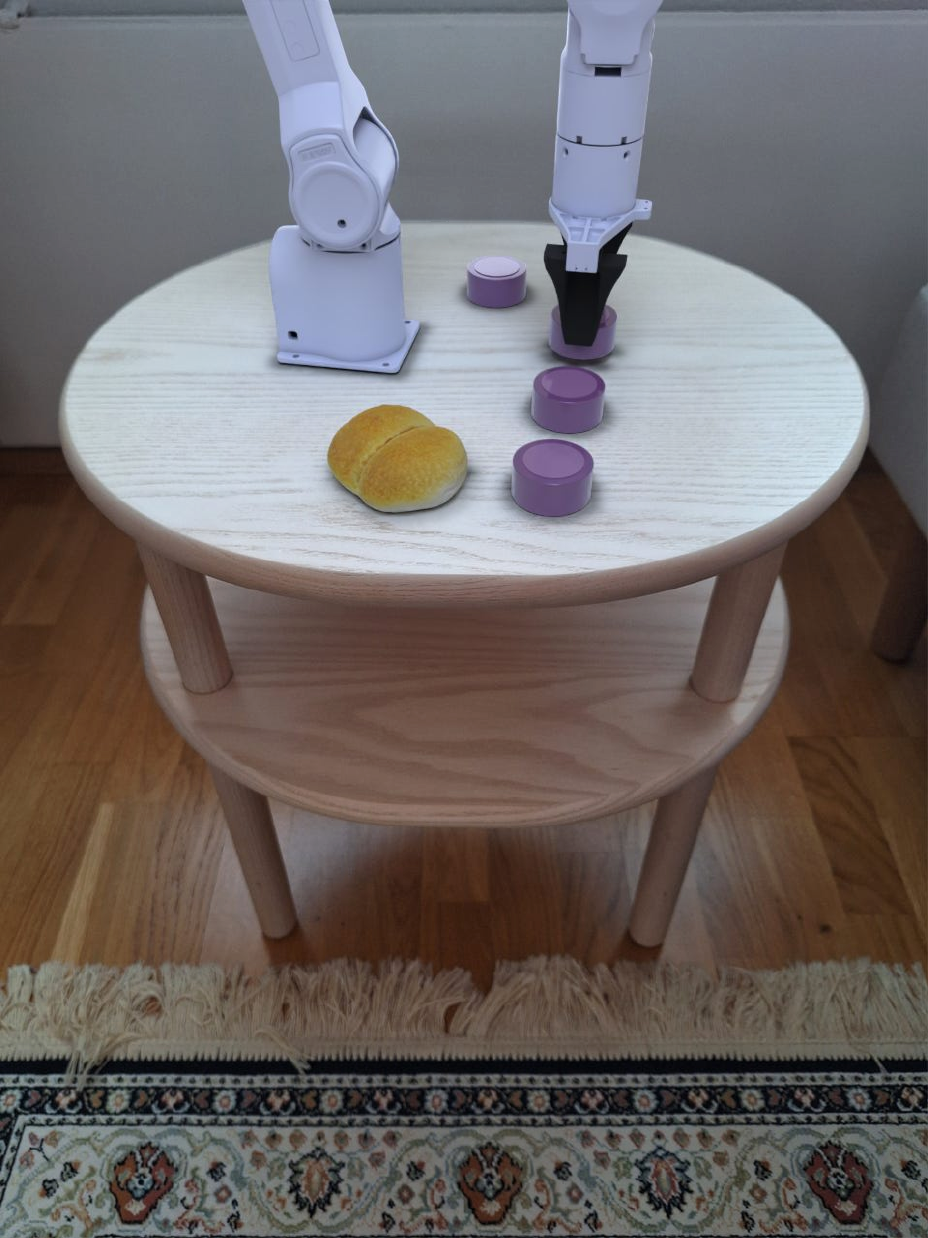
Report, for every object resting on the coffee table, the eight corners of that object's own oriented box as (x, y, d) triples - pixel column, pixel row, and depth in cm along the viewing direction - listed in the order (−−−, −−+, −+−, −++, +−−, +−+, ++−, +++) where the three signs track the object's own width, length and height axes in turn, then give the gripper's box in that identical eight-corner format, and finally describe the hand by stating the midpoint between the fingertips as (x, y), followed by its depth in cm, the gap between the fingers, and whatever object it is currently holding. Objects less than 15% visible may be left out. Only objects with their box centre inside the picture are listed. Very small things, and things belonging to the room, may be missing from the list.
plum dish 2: (526, 429, 65) (528, 397, 64) (536, 392, 69) (537, 361, 67) (599, 436, 65) (602, 404, 63) (605, 399, 68) (608, 368, 67)
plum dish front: (505, 511, 59) (506, 478, 57) (517, 466, 62) (518, 433, 60) (586, 520, 58) (590, 487, 56) (593, 474, 61) (597, 441, 60)
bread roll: (399, 535, 57) (395, 480, 54) (310, 472, 62) (303, 419, 59) (497, 480, 61) (498, 426, 58) (407, 425, 66) (404, 373, 63)
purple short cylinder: (461, 305, 79) (461, 276, 78) (472, 280, 83) (472, 252, 81) (521, 310, 79) (522, 281, 77) (529, 284, 82) (530, 256, 80)
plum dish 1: (544, 356, 71) (546, 325, 70) (552, 325, 75) (554, 295, 73) (611, 362, 71) (615, 331, 69) (616, 331, 74) (619, 301, 72)
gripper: (656, 173, 57) (629, 378, 66) (664, 103, 67) (640, 289, 76) (539, 166, 58) (529, 369, 67) (565, 98, 68) (553, 282, 77)
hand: (582, 326), depth 72 cm, fingers closed on plum dish 1, 5 cm apart
